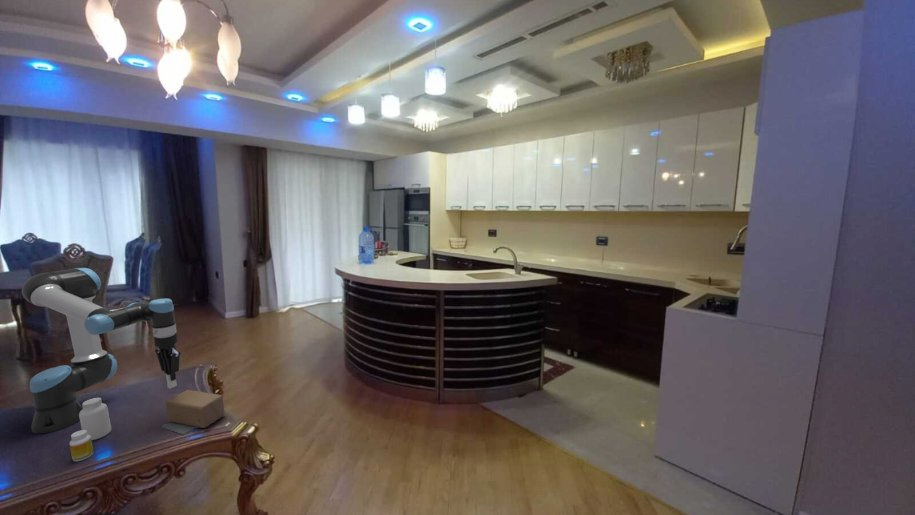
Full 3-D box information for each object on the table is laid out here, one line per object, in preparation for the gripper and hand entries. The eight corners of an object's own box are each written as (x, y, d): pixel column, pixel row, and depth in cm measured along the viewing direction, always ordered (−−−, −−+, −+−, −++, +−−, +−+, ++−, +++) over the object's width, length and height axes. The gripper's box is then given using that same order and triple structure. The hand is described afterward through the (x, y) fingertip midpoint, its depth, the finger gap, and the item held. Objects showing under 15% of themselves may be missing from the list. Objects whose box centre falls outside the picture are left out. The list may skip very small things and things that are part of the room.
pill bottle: (91, 431, 143) (85, 397, 141) (115, 426, 146) (110, 394, 144) (78, 443, 136) (72, 408, 133) (104, 438, 139) (98, 404, 136)
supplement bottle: (93, 456, 129) (89, 432, 127) (72, 464, 125) (67, 439, 123) (93, 449, 132) (89, 426, 131) (72, 456, 129) (68, 433, 127)
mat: (161, 427, 145) (161, 426, 145) (196, 409, 158) (196, 408, 158) (183, 435, 141) (183, 434, 141) (217, 415, 154) (217, 414, 154)
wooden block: (167, 422, 148) (204, 429, 144) (164, 400, 147) (202, 407, 142) (190, 409, 158) (225, 415, 153) (187, 388, 156) (223, 394, 152)
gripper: (145, 336, 146) (152, 388, 149) (165, 340, 141) (172, 393, 145) (165, 330, 153) (172, 380, 156) (185, 334, 148) (191, 385, 152)
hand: (172, 386), depth 150 cm, fingers closed
